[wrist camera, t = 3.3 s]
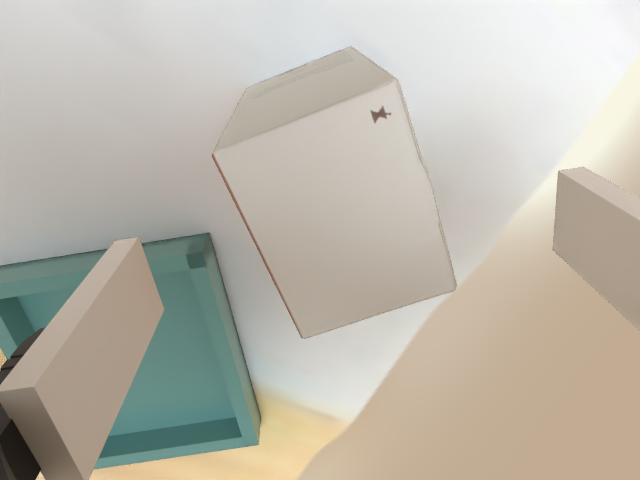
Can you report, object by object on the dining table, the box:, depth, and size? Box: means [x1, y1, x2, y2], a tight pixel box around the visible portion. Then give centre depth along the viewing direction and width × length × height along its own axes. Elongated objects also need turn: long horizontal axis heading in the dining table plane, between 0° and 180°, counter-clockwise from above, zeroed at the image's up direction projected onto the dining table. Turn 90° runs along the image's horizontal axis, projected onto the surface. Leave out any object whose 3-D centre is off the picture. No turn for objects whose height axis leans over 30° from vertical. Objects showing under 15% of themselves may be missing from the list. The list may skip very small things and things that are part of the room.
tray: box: [0, 233, 261, 469], centre depth 33 cm, size 14×16×3 cm
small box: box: [212, 46, 456, 339], centre depth 22 cm, size 8×6×13 cm
